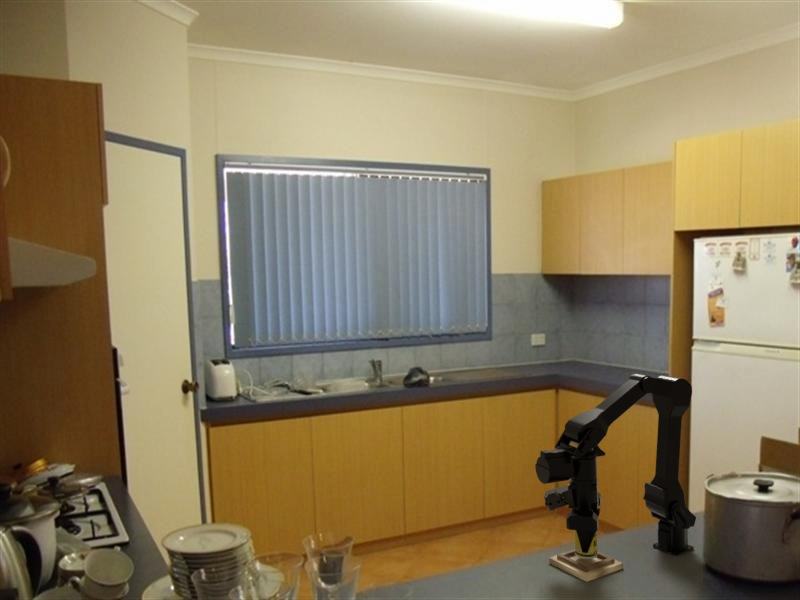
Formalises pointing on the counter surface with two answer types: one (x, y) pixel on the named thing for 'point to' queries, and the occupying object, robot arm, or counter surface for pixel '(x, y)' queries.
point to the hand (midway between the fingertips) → (585, 547)
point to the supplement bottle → (591, 552)
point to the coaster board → (586, 565)
